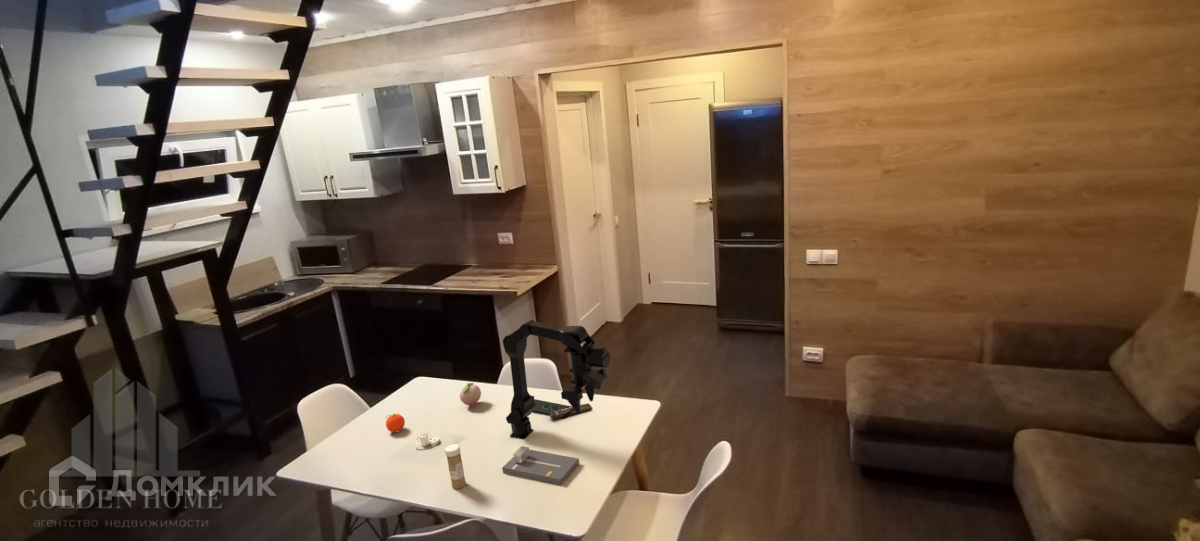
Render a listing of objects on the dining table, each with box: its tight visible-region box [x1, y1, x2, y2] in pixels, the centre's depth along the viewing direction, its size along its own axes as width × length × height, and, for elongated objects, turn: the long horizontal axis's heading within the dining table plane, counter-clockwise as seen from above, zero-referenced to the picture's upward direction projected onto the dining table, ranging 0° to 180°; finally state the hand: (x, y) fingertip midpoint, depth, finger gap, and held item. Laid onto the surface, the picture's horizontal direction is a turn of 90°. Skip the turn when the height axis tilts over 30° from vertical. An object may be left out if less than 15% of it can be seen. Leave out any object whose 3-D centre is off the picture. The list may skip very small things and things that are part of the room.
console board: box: [501, 449, 580, 486], centre depth 188 cm, size 22×12×2 cm, turn 63°
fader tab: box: [512, 445, 531, 464], centre depth 191 cm, size 3×5×3 cm, turn 153°
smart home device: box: [531, 398, 573, 417], centre depth 228 cm, size 8×2×20 cm
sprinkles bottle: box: [444, 443, 467, 490], centre depth 183 cm, size 5×5×14 cm
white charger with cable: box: [416, 432, 440, 446], centre depth 212 cm, size 9×8×4 cm
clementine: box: [385, 413, 406, 433], centre depth 224 cm, size 8×7×7 cm
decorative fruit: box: [459, 382, 482, 406], centre depth 238 cm, size 9×8×10 cm
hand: (585, 407), depth 195 cm, fingers open, 9 cm apart
